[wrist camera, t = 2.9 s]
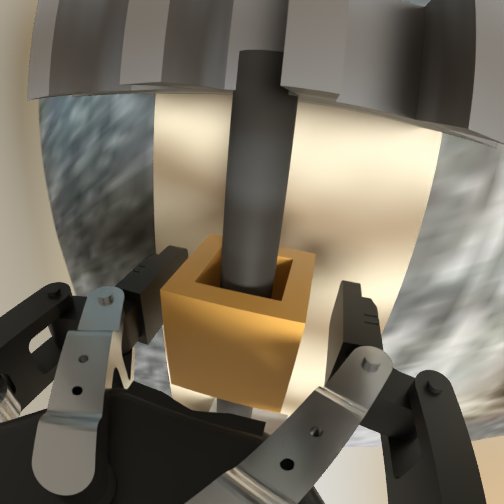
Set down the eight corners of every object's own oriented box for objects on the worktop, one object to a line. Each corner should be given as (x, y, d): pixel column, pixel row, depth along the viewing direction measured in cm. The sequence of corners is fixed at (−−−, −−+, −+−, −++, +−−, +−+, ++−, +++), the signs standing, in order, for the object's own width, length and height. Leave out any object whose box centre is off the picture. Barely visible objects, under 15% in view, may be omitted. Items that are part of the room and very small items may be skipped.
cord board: (175, 28, 13) (-4, -16, 3) (440, 59, 11) (597, 12, 1) (180, 399, 27) (130, 495, 17) (323, 433, 25) (304, 544, 15)
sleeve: (210, 233, 11) (160, 289, 8) (315, 253, 11) (305, 323, 7) (208, 319, 13) (171, 383, 10) (296, 339, 12) (280, 413, 9)
